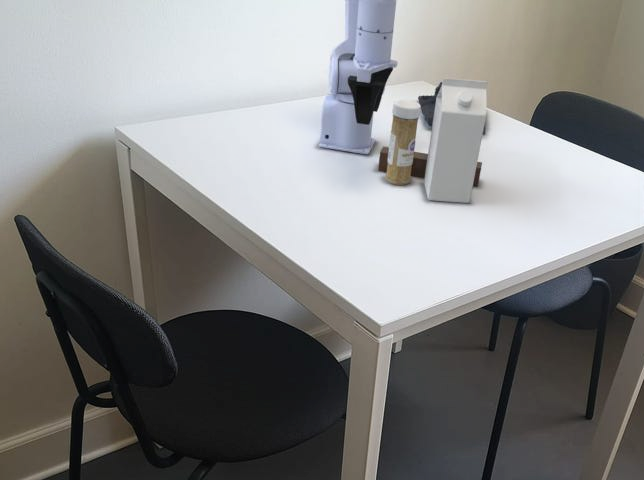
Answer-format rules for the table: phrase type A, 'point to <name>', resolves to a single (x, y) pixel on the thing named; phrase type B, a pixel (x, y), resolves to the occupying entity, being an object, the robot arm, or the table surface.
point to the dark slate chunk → (431, 106)
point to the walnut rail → (419, 165)
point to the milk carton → (455, 140)
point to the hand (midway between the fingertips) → (367, 116)
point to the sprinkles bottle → (402, 141)
